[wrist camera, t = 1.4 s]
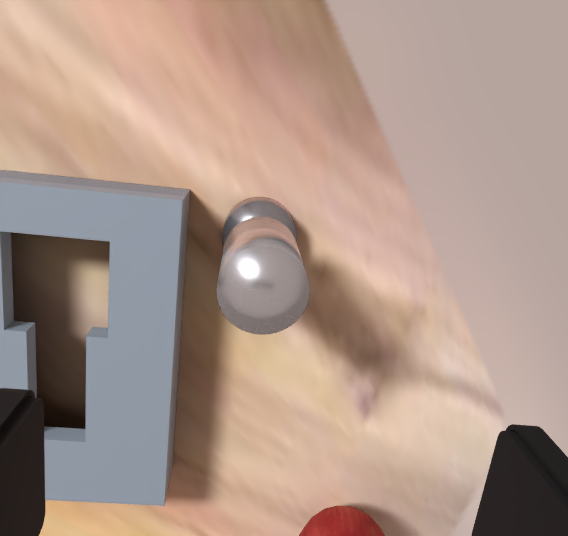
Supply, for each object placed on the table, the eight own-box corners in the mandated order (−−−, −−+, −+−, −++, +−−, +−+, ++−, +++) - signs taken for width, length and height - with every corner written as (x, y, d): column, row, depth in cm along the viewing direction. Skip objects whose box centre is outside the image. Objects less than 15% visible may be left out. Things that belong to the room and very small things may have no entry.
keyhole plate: (-41, 165, 28) (-79, 173, 25) (190, 189, 29) (182, 200, 26) (-23, 456, 33) (-52, 494, 30) (172, 467, 34) (164, 505, 31)
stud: (226, 193, 29) (215, 236, 20) (298, 200, 30) (321, 246, 20) (220, 262, 30) (207, 334, 21) (290, 269, 31) (307, 342, 21)
